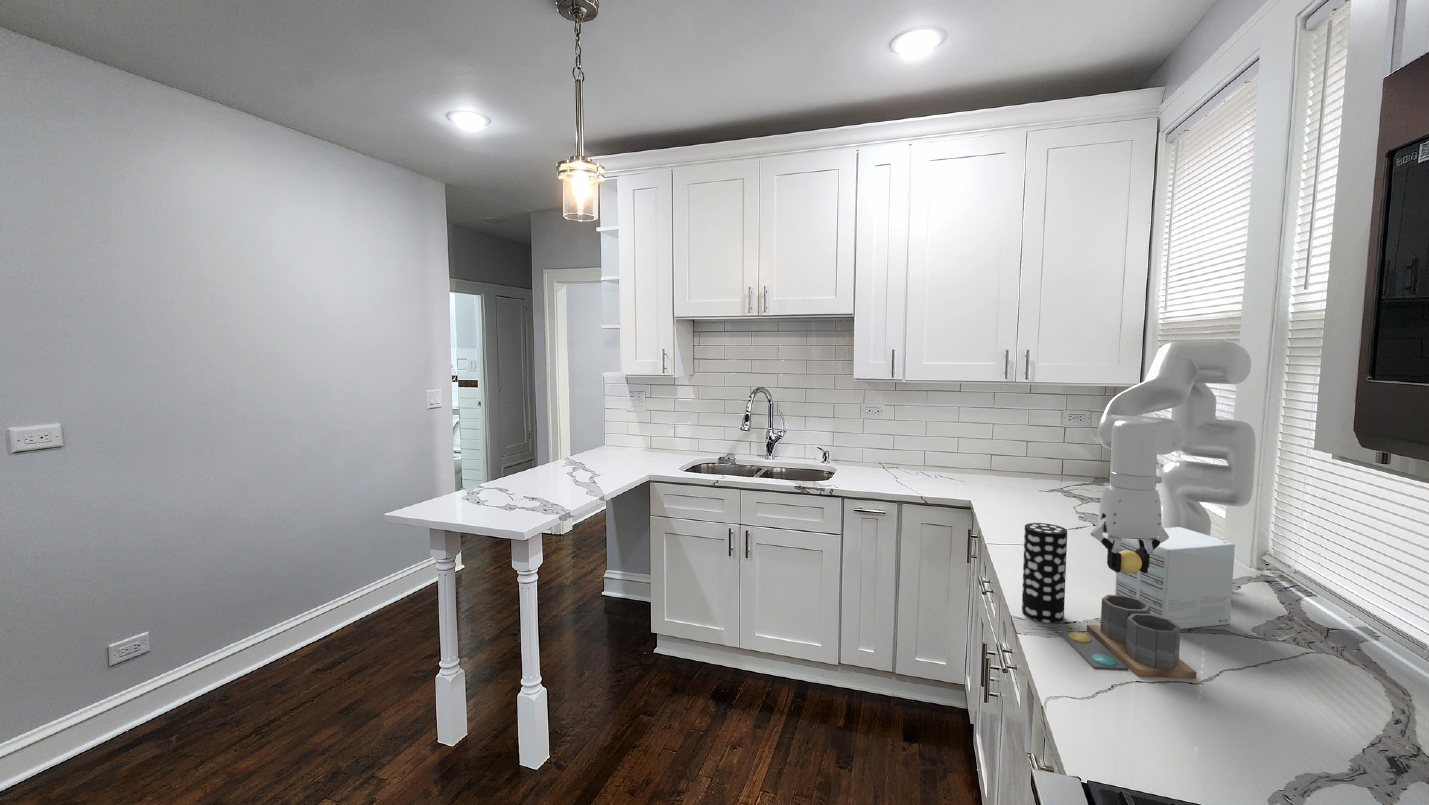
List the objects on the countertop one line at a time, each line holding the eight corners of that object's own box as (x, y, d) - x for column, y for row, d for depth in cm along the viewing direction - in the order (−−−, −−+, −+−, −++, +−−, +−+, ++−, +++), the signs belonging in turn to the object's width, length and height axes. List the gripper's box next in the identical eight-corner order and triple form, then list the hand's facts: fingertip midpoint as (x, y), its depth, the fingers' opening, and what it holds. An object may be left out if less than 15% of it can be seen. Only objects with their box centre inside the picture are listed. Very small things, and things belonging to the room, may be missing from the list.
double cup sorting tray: (1136, 631, 126) (1138, 594, 125) (1196, 678, 108) (1198, 634, 107) (1086, 630, 127) (1088, 592, 126) (1137, 675, 109) (1139, 632, 108)
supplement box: (1174, 600, 141) (1179, 525, 140) (1232, 625, 128) (1237, 543, 127) (1111, 606, 138) (1115, 530, 137) (1163, 632, 125) (1168, 549, 124)
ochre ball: (1132, 568, 122) (1134, 547, 122) (1146, 577, 118) (1147, 554, 117) (1109, 568, 123) (1110, 547, 122) (1122, 576, 118) (1123, 554, 118)
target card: (1089, 634, 125) (1089, 631, 125) (1128, 669, 111) (1128, 666, 111) (1058, 633, 125) (1059, 630, 125) (1094, 668, 111) (1094, 665, 111)
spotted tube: (1059, 609, 137) (1062, 524, 135) (1067, 625, 129) (1071, 535, 127) (1019, 604, 139) (1021, 521, 138) (1025, 620, 132) (1028, 532, 130)
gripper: (1165, 478, 122) (1160, 565, 123) (1078, 477, 123) (1074, 563, 125) (1190, 486, 114) (1184, 579, 116) (1097, 485, 116) (1093, 576, 117)
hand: (1127, 569), depth 120 cm, fingers closed on ochre ball, 4 cm apart
